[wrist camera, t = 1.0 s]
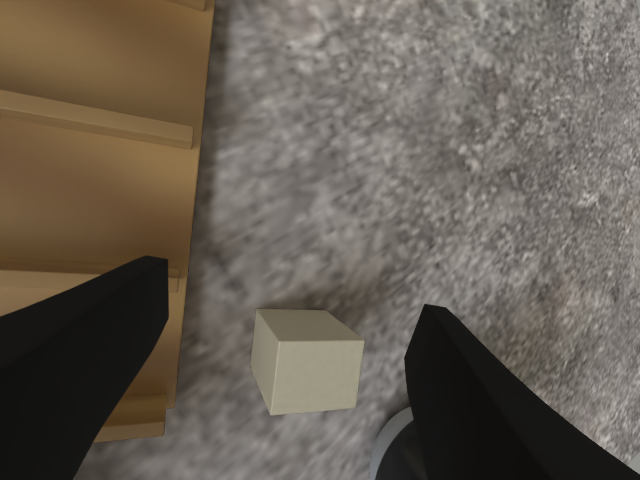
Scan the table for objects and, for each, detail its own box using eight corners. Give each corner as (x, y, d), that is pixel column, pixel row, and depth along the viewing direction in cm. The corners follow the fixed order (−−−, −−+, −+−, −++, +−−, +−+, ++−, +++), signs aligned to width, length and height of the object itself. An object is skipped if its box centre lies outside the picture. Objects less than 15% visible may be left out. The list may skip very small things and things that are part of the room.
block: (318, 364, 26) (356, 408, 21) (249, 366, 24) (270, 416, 19) (325, 309, 26) (365, 340, 20) (256, 308, 24) (279, 341, 19)
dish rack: (174, 400, 23) (173, 439, 19) (-133, 420, 18) (-216, 478, 14) (214, 5, 21) (221, -35, 18) (-111, -96, 16) (-197, -184, 13)
